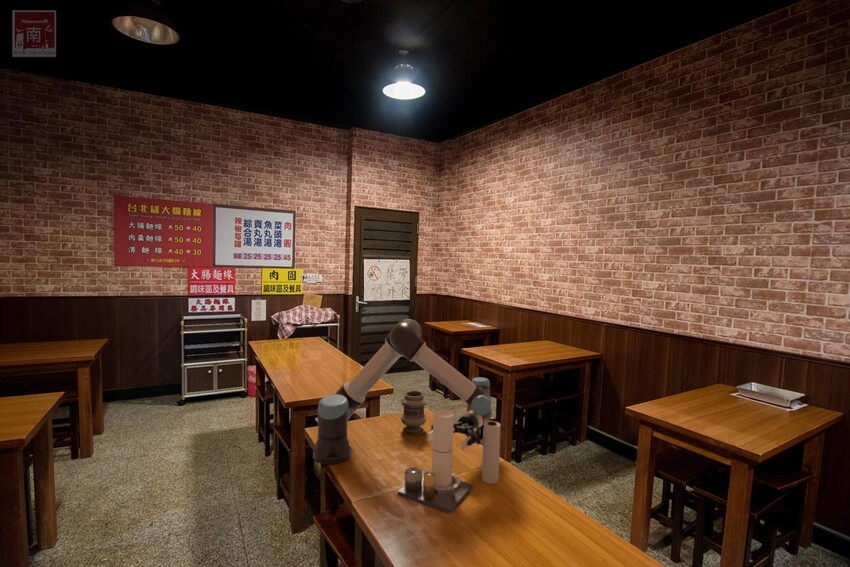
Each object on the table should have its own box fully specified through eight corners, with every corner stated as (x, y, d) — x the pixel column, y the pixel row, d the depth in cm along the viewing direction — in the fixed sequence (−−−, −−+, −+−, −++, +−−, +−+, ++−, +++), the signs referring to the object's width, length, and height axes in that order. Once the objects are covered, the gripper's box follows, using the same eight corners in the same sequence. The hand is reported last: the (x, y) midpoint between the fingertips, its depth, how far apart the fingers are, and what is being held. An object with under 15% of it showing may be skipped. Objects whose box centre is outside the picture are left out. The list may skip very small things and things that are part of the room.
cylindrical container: (428, 484, 147) (430, 414, 146) (436, 475, 154) (439, 408, 152) (446, 490, 144) (448, 419, 143) (454, 480, 150) (457, 412, 149)
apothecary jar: (396, 433, 193) (397, 395, 192) (405, 424, 204) (406, 388, 203) (421, 437, 189) (422, 398, 188) (429, 427, 201) (430, 390, 200)
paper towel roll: (498, 485, 150) (500, 427, 149) (481, 483, 151) (483, 425, 150) (498, 475, 157) (500, 419, 156) (482, 473, 158) (484, 418, 157)
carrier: (396, 494, 143) (397, 470, 142) (425, 470, 160) (425, 449, 159) (450, 513, 133) (450, 488, 132) (474, 486, 149) (475, 463, 149)
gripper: (499, 439, 161) (476, 461, 143) (442, 425, 174) (415, 443, 155) (499, 420, 160) (477, 439, 142) (442, 407, 173) (415, 423, 155)
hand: (445, 441), depth 149 cm, fingers open, 13 cm apart
